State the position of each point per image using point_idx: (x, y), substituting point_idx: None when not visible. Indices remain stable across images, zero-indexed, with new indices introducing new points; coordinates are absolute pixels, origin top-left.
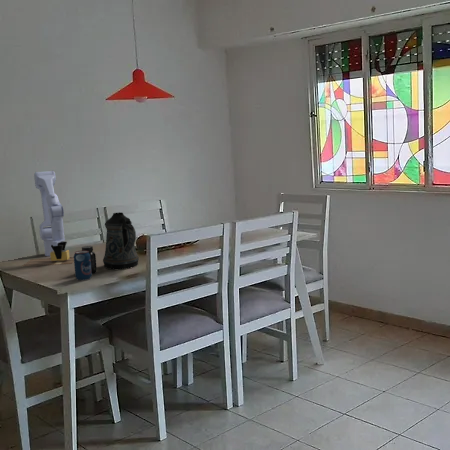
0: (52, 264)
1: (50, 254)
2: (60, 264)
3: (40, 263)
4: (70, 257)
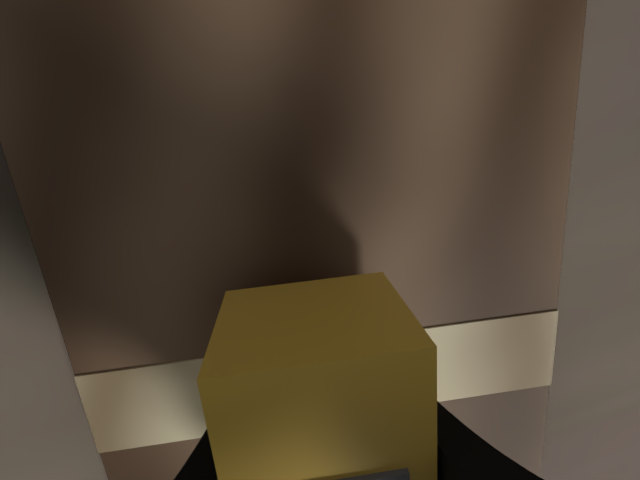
0: (94, 352)
1: (208, 356)
2: (104, 457)
3: (170, 111)
4: (530, 417)
